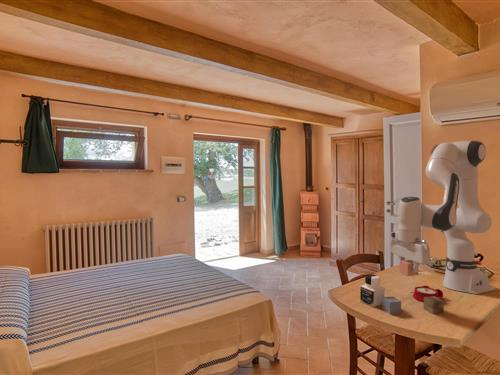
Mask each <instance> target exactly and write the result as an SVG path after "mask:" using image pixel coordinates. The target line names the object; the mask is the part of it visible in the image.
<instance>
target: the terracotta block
mask: <svg viewBox="0 0 500 375" xmlns="http://www.w3.org/2000/svg"><path fill="white" fill-rule="evenodd" d="M413 265H414V264H413V261H411V260H409V259H405V260H403V261H400V260H399V273H400V274H402V275H405V277H413V276H419V270H418V271H417V272H413V271H411V267H413Z"/></svg>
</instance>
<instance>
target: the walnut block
mask: <svg viewBox="0 0 500 375" xmlns="http://www.w3.org/2000/svg"><path fill="white" fill-rule="evenodd" d="M444 305H445V301H444V300H443V299H441V298H439V297H438V298H437V297H435V296H432V297H424V302H423V310H425V311H427V312H428V313H429V314H432V315H437V314H444V312H445V310H444V308H445V306H444Z"/></svg>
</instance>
